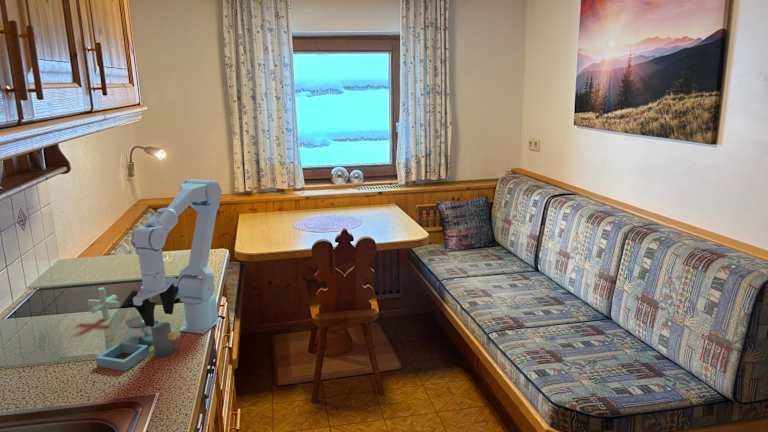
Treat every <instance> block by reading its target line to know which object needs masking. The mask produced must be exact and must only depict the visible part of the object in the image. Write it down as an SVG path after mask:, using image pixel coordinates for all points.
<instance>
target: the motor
mask: <svg viewBox="0 0 768 432" xmlns="http://www.w3.org/2000/svg"><path fill="white" fill-rule="evenodd" d="M156 323H160V322H159V320H155V319H154V324H156ZM126 327H127V334H128V339H126V340H125V341H124V342H127V343H133V344H140V345H147V346H149V345H150V346H152V345H153V339H152V332H151V327H149V326H146V325H145V323H144V320H143V318H142V316H141V315H140V314H139V315H136V316H132V317H131V318H128V320H127V321H126ZM151 344H152V345H151ZM150 346H149V347H150Z"/></svg>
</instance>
